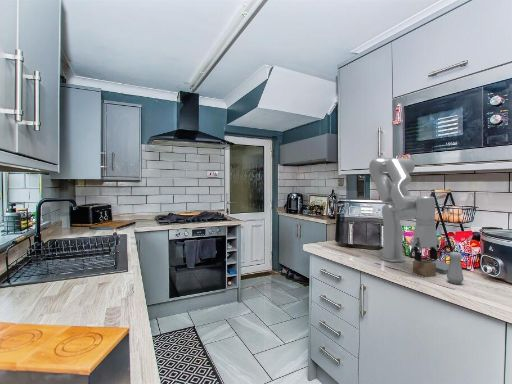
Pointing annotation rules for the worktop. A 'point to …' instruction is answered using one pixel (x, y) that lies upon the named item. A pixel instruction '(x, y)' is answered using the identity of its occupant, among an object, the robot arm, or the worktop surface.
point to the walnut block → (424, 268)
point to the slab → (441, 267)
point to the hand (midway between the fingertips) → (425, 259)
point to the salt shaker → (455, 268)
